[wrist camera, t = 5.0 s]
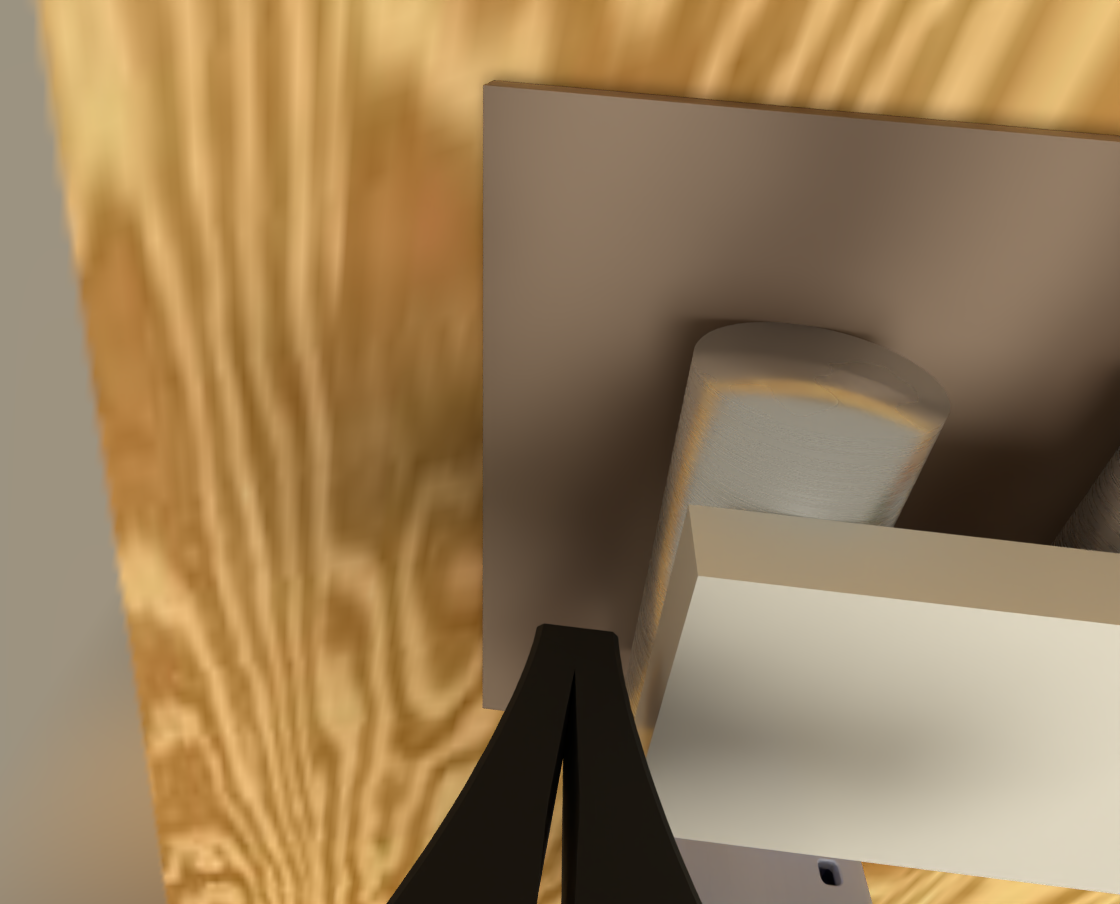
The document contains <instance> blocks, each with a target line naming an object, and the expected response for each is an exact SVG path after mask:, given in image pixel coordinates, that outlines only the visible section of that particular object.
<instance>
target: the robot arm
mask: <svg viewBox="0 0 1120 904" xmlns="http://www.w3.org/2000/svg"><path fill="white" fill-rule="evenodd" d="M562 761H563V808H562V898H561V904H872V900H871V897H870V893H869V889H868V886H867V882H866V878H865V875H864V871H863V867H862V864H861V861H854V860H847V859H839V858H831V857H823V856H815V855H807V854H800V853H792V852H784V851H776V850H768V849H760V848H753V847H745V846H737V845H729V844H721V843H713V842H706V841H698V840H690V839H682V838H674V836H673V833H672V831H671V828H670V826H669V823H668V820H667V818H666V815H665V812H664V809H663V807H662V804H661V801H660V798H659V796H658V793H657V790H656V787H655V785H654V782H653V779H652V776H651V773H650V770H649V767H648V764H647V760H646V757H645V754H644V750H643V747H642V744H641V741H640V737H639V734H638V731H637V727H636V724H635V720H634V717H633V713H632V709H631V705H630V701H629V697H628V693H627V688H626V684H625V679H624V674H623V669H622V663H621V657H620V650H619V639H618V636H617V635H616V634H615V633H614V632H611V631H603V630H595V629H586V628H578V627H570V626H562V625H553V624H545V623H543V624H541V625H540V626H538V627H537V628H536V633H535V637H534V641H533V644H532V647H531V650H530V653H529V656H528V659H527V661H526V664H525V667H524V669H523V672H522V674H521V676H520V679H519V681H518V683H517V686H516V688H515V691H514V693H513V695H512V697H511V699H510V701H509V703H508V705H507V707H506V709H505V712H504V714H503V716H502V718H501V720H500V722H499V724H498V726H497V728H496V730H495V732H494V734H493V736H492V738H491V740H490V742H489V743H488V745H487V747H486V749H485V751H484V752H483V754H482V756H481V758H480V760H479V761H478V763H477V765H476V767H475V768H474V770H473V772H472V774H471V776H470V777H469V779H468V781H467V783H466V784H465V786H464V788H463V790H462V791H461V793H460V794H459V796H458V798H457V799H456V801H455V803H454V804H453V806H452V808H451V809H450V811H449V812H448V814H447V816H446V817H445V819H444V820H443V822H442V823H441V825H440V827H439V828H438V830H437V831H436V833H435V834H434V836H433V837H432V839H431V840H430V842H429V843H428V845H427V846H426V848H425V849H424V851H423V852H422V854H421V855H420V857H419V858H418V860H417V861H416V863H415V864H414V865H413V867H412V868H411V870H410V871H409V873H408V874H407V875H406V877H405V878H404V880H403V881H402V883H401V884H400V885H399V887H398V888H397V890H396V891H395V893H394V894H393V895H392V897H391V898H390V900H389V901H388V902H387V904H537V898H538V892H539V886H540V881H541V876H542V870H543V865H544V859H545V854H546V848H547V843H548V837H549V832H550V826H551V821H552V816H553V810H554V805H555V799H556V794H557V788H558V783H559V777H560V772H561V766H562Z"/></svg>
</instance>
